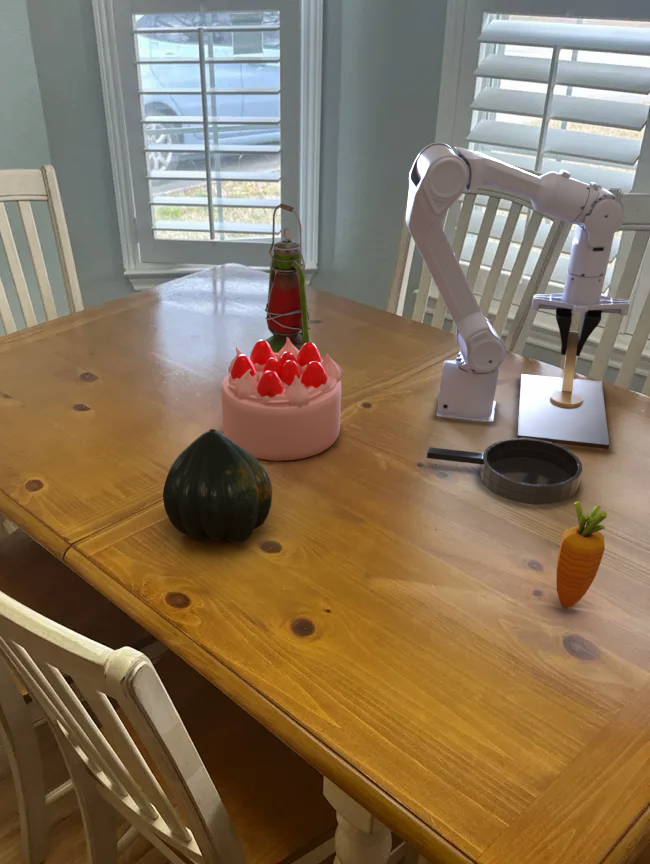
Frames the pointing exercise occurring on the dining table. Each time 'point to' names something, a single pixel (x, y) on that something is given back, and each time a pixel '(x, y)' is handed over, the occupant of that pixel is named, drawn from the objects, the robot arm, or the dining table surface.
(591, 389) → the board
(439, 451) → the pan handle
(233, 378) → the cake
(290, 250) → the lantern
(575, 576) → the carrot
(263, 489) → the squash
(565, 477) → the pan
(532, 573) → the dining table surface
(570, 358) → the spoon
